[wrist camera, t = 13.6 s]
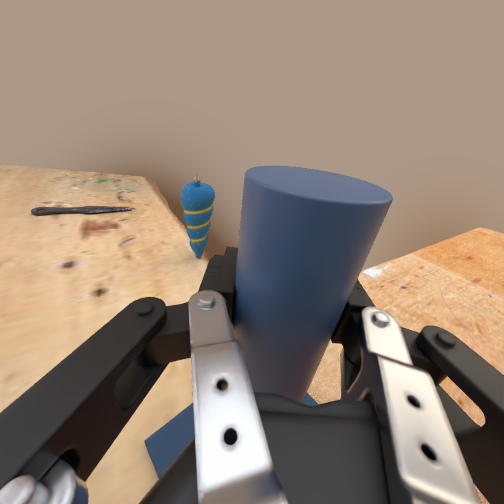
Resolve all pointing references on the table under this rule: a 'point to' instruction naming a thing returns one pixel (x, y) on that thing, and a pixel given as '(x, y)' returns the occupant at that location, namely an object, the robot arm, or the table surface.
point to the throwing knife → (77, 209)
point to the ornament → (197, 213)
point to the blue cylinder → (298, 268)
